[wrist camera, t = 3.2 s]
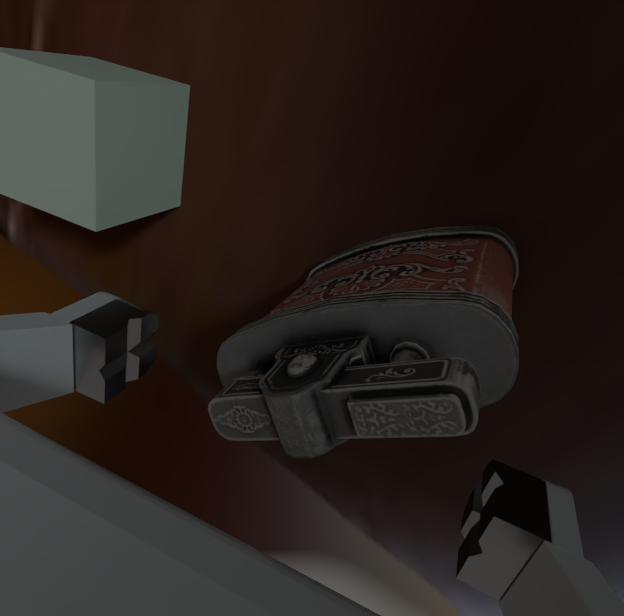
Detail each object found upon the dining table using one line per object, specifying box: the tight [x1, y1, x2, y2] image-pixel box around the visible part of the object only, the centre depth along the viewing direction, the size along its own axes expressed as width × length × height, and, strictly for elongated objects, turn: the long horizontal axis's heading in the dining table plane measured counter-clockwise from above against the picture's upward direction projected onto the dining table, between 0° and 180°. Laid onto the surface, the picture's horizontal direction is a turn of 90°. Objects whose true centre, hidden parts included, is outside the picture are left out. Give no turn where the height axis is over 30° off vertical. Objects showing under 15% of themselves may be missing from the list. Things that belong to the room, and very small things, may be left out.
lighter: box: [208, 225, 519, 458], centre depth 14 cm, size 8×3×10 cm, turn 109°
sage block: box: [0, 47, 190, 232], centre depth 18 cm, size 5×5×5 cm
